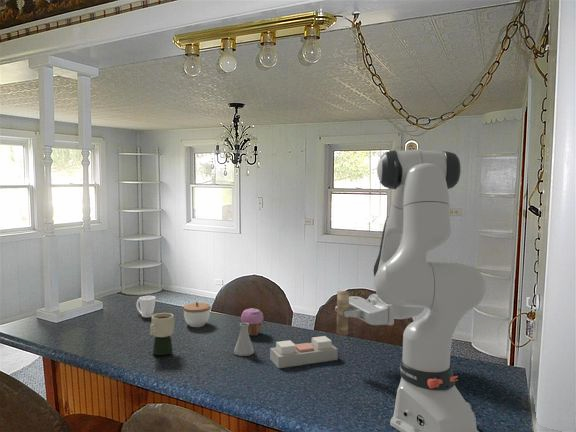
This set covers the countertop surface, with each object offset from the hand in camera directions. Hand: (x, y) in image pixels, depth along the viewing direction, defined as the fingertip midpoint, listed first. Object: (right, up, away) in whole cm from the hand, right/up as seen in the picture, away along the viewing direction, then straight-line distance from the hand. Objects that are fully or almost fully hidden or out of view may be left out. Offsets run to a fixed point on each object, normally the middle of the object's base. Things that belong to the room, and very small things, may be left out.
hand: (340, 311), depth 134 cm
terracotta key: (-11, -16, +9) cm, 21 cm away
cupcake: (-30, -16, +32) cm, 47 cm away
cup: (-78, -14, +54) cm, 96 cm away
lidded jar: (-53, -15, +42) cm, 70 cm away
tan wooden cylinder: (+1, -7, +1) cm, 7 cm away
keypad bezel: (-11, -18, +9) cm, 23 cm away
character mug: (-58, -17, +12) cm, 62 cm away
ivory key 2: (-5, -14, +11) cm, 19 cm away
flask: (-31, -17, +14) cm, 38 cm away
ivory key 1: (-17, -14, +6) cm, 23 cm away
